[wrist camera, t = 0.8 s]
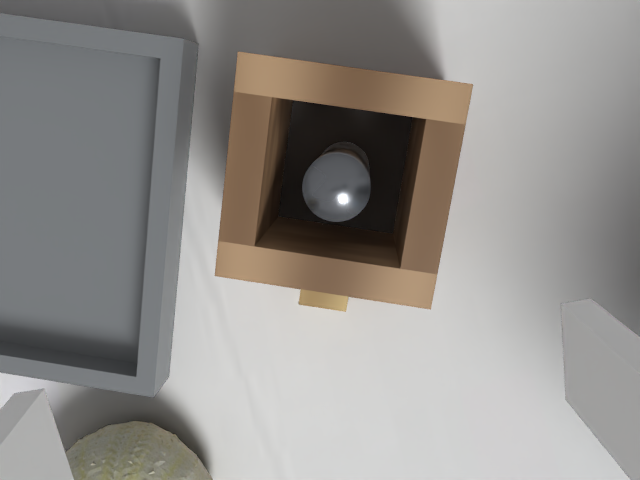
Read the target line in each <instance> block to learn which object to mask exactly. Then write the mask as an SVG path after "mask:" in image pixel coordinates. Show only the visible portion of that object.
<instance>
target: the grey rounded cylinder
mask: <svg viewBox="0 0 640 480" xmlns="http://www.w3.org/2000/svg"><path fill="white" fill-rule="evenodd" d="M370 191H371V184H370V168H369V161H368V158H367V155H366V154H365V152H364V151H363V150H362V149H361V148H360V147H359V146H357V145H355V144H353V143H350V142H338V143H334V144H332V145H331V146H329V147H328V148H327V149H325V151H324V152H323V153H322V154H321V155H320V156H319V157H318V158H317V159H316V160H315V161H314V162H313V163H312V164H311V166H310V167H309V168H308V170H307V171H306V173H305V176H304V178H303V183H302V192H303V197H304V200H305V202H306V204H307V206H308V207H309V209H310V210H311V211H312V212H313V213H314V214H315V215H317V216H318V217H320V218H322V219H324V220H327V221H332V222H341V221H346V220H349V219H351V218H353V217H355V216H356V215H358V214H359V213H360V212H361V211H362V210H363V209H364V207H365V206H366V204H367V202H368V200H369V197H370Z"/></svg>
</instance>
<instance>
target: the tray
mask: <svg viewBox="0 0 640 480" xmlns="http://www.w3.org/2000/svg"><path fill="white" fill-rule="evenodd" d="M197 56H198V44H197V43H194V42H192V41H189V40H186V39H184V38H177V37H169V36H162V35H155V34H148V33H141V32H133V31H126V30H119V29H112V28H105V27H97V26H90V25H83V24H76V23H68V22H61V21H54V20H47V19H40V18H32V17H25V16H18V15H11V14H4V13H0V372H1V373H7V374H13V375H19V376H25V377H31V378H38V379H44V380H50V381H56V382H62V383H68V384H74V385H80V386H86V387H92V388H98V389H105V390H111V391H117V392H123V393H129V394H135V395H141V396H147V397H153V398H154V397H155V395H156V394H157V393H158V391H159V390H160V388H161V387H162V386H163V384H164V383H165V382H166V380H167V379H168V377H169V371H170V360H171V349H172V337H173V326H174V315H175V303H176V292H177V281H178V270H179V258H180V247H181V236H182V225H183V213H184V202H185V191H186V180H187V168H188V157H189V146H190V135H191V123H192V112H193V101H194V90H195V78H196V67H197Z"/></svg>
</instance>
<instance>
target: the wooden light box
mask: <svg viewBox="0 0 640 480" xmlns="http://www.w3.org/2000/svg"><path fill="white" fill-rule="evenodd" d="M472 88H473V84H468V83H460V82H453V81H446V80H439V79H432V78H424V77H417V76H410V75H403V74H396V73H388V72H381V71H374V70H367V69H360V68H353V67H345V66H338V65H331V64H324V63H317V62H309V61H302V60H295V59H288V58H281V57H273V56H266V55H259V54H252V53H245V52H238V55H237V65H236V74H235V84H234V94H233V103H232V113H231V123H230V133H229V142H228V152H227V162H226V171H225V181H224V191H223V201H222V210H221V220H220V230H219V239H218V249H217V259H216V269H215V276H218V277H225V278H231V279H238V280H244V281H251V282H257V283H264V284H270V285H277V286H283V287H289V288H296V289H301V291H300V298H299V304H300V305H306V306H312V307H319V308H325V309H332V310H338V311H344V312H346V309H347V302H348V297H354V298H360V299H367V300H373V301H380V302H386V303H393V304H399V305H406V306H412V307H418V308H425V309H431V305H432V300H433V294H434V289H435V284H436V278H437V273H438V268H439V262H440V257H441V252H442V247H443V241H444V236H445V231H446V225H447V220H448V215H449V209H450V204H451V199H452V194H453V188H454V183H455V178H456V172H457V167H458V162H459V156H460V151H461V146H462V141H463V135H464V130H465V125H466V119H467V114H468V109H469V104H470V98H471V93H472ZM293 100H296V101H303V102H310V103H318V104H325V105H332V106H339V107H346V108H353V109H360V110H367V111H374V112H381V113H388V114H395V115H402V116H409V117H412V122H411V128H410V134H409V140H408V146H407V152H406V158H405V164H404V170H403V176H402V182H401V188H400V193H399V199H398V205H397V211H396V217H395V223H394V229H393V234H392V233H386V232H379V231H373V230H366V229H359V228H353V227H346V226H339V225H333V224H326V223H319V222H313V221H306V220H299V219H293V218H286V217H279V208H280V200H281V192H282V184H283V176H284V167H285V159H286V151H287V143H288V135H289V127H290V119H291V111H292V103H293Z"/></svg>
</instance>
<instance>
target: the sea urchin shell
mask: <svg viewBox="0 0 640 480" xmlns="http://www.w3.org/2000/svg"><path fill="white" fill-rule="evenodd" d="M65 454H66V457H67V460H68V463H69V466H70V469H71V472H72V475H73V478H74V480H213V479H212V477H211V476H210V475H209V473H208V471H207V470H206V468H205V467H204V465H203V464H202V462H201V461H200V459H199V458H198V457H197V454H194V452H193V451H191V450H190V449H189V448H188V447H187V446H186V445H185V444H183V443H182V442H181V441H180V439H178V437H177V436H176V434H172V433H171V432H170V431H166V430H164V429H162V428H160V427H158V426H157V425H155V424H153V423H151V422H150V423H147V422H141V421H139V422H138V421H131V422H126V423H119V424H113V425H111V424H110V425H109V426H105V427H103V428H102V429H99V430H98V431H97V432H94V433H92V434H90V435H86V436H85V437H83V438H82V439H78V440H77V442H76V443H75V444H73V446H72V447H71V448H70V449H69V450H68V451H67V452H66V453H65Z"/></svg>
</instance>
